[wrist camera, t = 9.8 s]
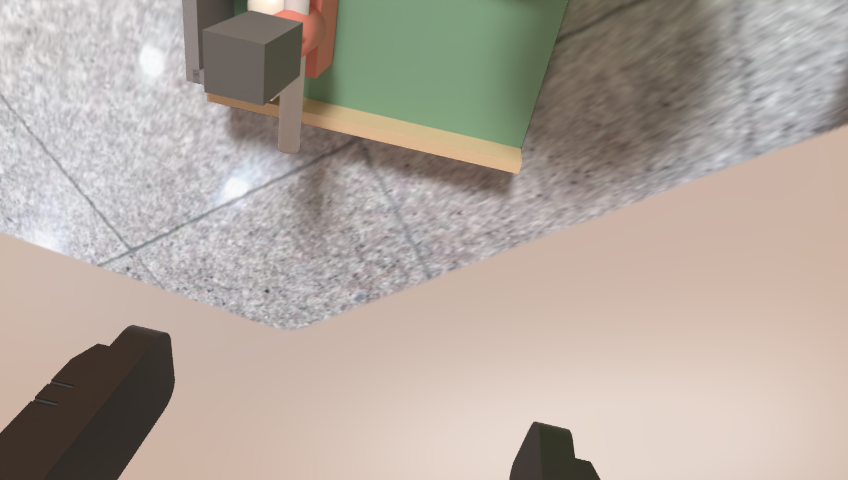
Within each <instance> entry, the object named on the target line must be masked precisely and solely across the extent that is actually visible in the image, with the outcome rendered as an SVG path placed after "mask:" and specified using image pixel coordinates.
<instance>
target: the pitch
mask: <svg viewBox="0 0 848 480" xmlns="http://www.w3.org/2000/svg"><path fill="white" fill-rule="evenodd" d="M247 3H248V0H182V5H183V23H184V40H185V58H186V76H187V81H189V82H193V83H198V84H202V85H204V62H203V35H202V30H203V29H206V28H208V27H211V26H213V25H216V24H218V23H221V22H223V21H225V20H228V19H230V18H233V17H235V16H238V15H240V14H243V13H245V12H248V8H247ZM567 3H568V0H338V8H337V18H336V28H335V39H334V49H333V60H332V64H331V65H330V66H329V67H328V68H326V69H325V70H324V71H323V72H322V73H321V74H320V75H319V76H318V77H317V78H311V77H307V76H304V91H303V105H302V120H301V123H303V124H308V125H312V126H316V127H320V128H325V129H329V130H333V131H337V132H342V133H346V134H350V135H354V136H359V137H363V138H367V139H371V140H376V141H380V142H384V143H388V144H393V145H397V146H401V147H405V148H410V149H414V150H418V151H422V152H427V153H431V154H435V155H439V156H444V157H448V158H452V159H456V160H461V161H465V162H469V163H473V164H478V165H482V166H486V167H490V168H495V169H499V170H503V171H507V172H512V173H516V174H519V171H520V168H521V165H522V155H521V147H522V144H523V141H524V138H525V135H526V132H527V129H528V125H529V122H530V119H531V116H532V113H533V110H534V107H535V104H536V100H537V97H538V94H539V91H540V88H541V85H542V82H543V79H544V75H545V72H546V69H547V66H548V63H549V60H550V57H551V54H552V50H553V47H554V44H555V41H556V38H557V35H558V32H559V28H560V25H561V22H562V19H563V16H564V13H565V10H566V7H567ZM207 101H210V102H214V103H218V104H222V105H227V106H231V107H235V108H239V109H244V110H248V111H252V112H256V113H261V114H265V115H269V116H273V117H278V118H279V104H280V92H279V93H278V94H277V95H276V96H275V97H273V98H272V99H271V100H270V101H269V102H267V103H266V104H265V105H264V106H261V105H257V104H253V103H249V102H244V101H240V100H236V99H232V98H227V97H223V96H219V95H215V94H210V93H207Z"/></svg>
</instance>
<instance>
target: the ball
mask: <svg viewBox="0 0 848 480" xmlns="http://www.w3.org/2000/svg"><path fill="white" fill-rule="evenodd" d="M247 8H248V11H250V10H252V11H256V12H261V13H265V14H269V15H274V14H276V13H278V12H280V11H282V10H284V0H248V3H247Z"/></svg>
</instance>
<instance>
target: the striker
mask: <svg viewBox="0 0 848 480" xmlns="http://www.w3.org/2000/svg"><path fill="white" fill-rule="evenodd" d="M337 8H338V0H284V10H282V11H280V12H278V13H276V14H274V15H269V14H265V13H261V12H256V11H252V10H250V11H248V12H245V13H243V14H240V15H238V16H235V17H233V18H230V19H228V20H225V21H223V22H221V23H218V24H216V25H213V26H211V27H208V28H206V29H203V30H202V35H203V62H204V88H205V92H206V93H210V94H215V95H219V96H223V97H227V98H232V99H236V100H240V101H244V102H249V103H253V104H257V105H261V106H264V105H265V104H266V103H267V102H269V101H270V100H271V99H272V98H273V97H275V96H276V95H277V94H278V93H279V92H280V104H279V127H278V150H279V151H281V152H284V153H297V152H298V151H299V150H300V135H301V120H302V105H303V91H304V76H307V77H311V78H317V77H318V76H319V75H320V74H321V73H322V72H323V71H324V70H325V69H326V68H328V67H329V66H330V65H331V64H332V60H333V49H334V39H335V28H336V18H337Z"/></svg>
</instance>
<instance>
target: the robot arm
mask: <svg viewBox="0 0 848 480" xmlns="http://www.w3.org/2000/svg"><path fill="white" fill-rule="evenodd" d="M174 383H175V377H174V367H173V357H172V347H171V338H170V335H169V334H168V333H165V332H160V331H157V330H152V329H148V328H144V327H139V326H135V325H131V326H129V327H127V328H126V329H125V330H124V331H123V332H122V333H121V334H120V335H119V336H118V337H117V338H116V339H115V341H114V342H113V343H112V344H111V345H110V346H106V345H101V344H96V345H95V346H93V347H91V348H89V349H88V350H86V351H84V352H83V353H81V354H79V355H77V356H76V357H74V358H72V359H71V360H70V361H69V362H68V363H67V364H66V365H65V366H64V367H63V368H62V369H61V370H60V371H59V372H58V373H57V374H56V376H55V377H54V378H53V379H52V381H51V383H50V384H47V385H46V386H45V387H44V388H43V389H42V390H41V391H40V392H39V394H37V395H36V396H35V400H34V401H33V402H32V401H31V402H30V403H29V404H28V405H27V406H26V407H25V408H24V409H23V410H22V411H21V412H20V413H19V414H18V415H17V416H16V417H15V418H14V419H13V420H12V421H11V423H10V424H9V425H8V426H7V427H6V428H5V429H4V430H3V431H2V432H1V433H0V480H117V479H118V478H119V476H120V475H121V473H122V472H123V470H124V469H125V468H126V466H127V465H128V463H129V462H130V460H131V459H132V457H133V456H134V454H135V453H136V451H137V450H138V448H139V447H140V445H141V444H142V442H143V441H144V439H145V438H146V436H147V435H148V433H149V432H150V431H151V429H152V428H153V426H154V425H155V423H156V422H157V420H158V418H159V417H160V416H161V414H162V413H163V411H164V409H165V408H166V406H167V405H168V402H169V400H170V398H171V396H172V393H173V389H174ZM510 480H600V478H599V476H598V475H597V473H596V471H595V469H594V467H593V465H592V464H591V462H589V461H585V460H581V459H577V458H575V454H574V446H573V439H572V434H571V432H570V430H568V429H565V428H561V427H556V426H552V425H548V424H544V423H539V422H533V424H532V425H531V427H530V429H529V431H528V433H527V435H526V437H525V439H524V441H523V443H522V446H521V448H520V450H519V452H518V454H517V456H516V458H515V460H514V462H513V465H512V469H511V473H510Z"/></svg>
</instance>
